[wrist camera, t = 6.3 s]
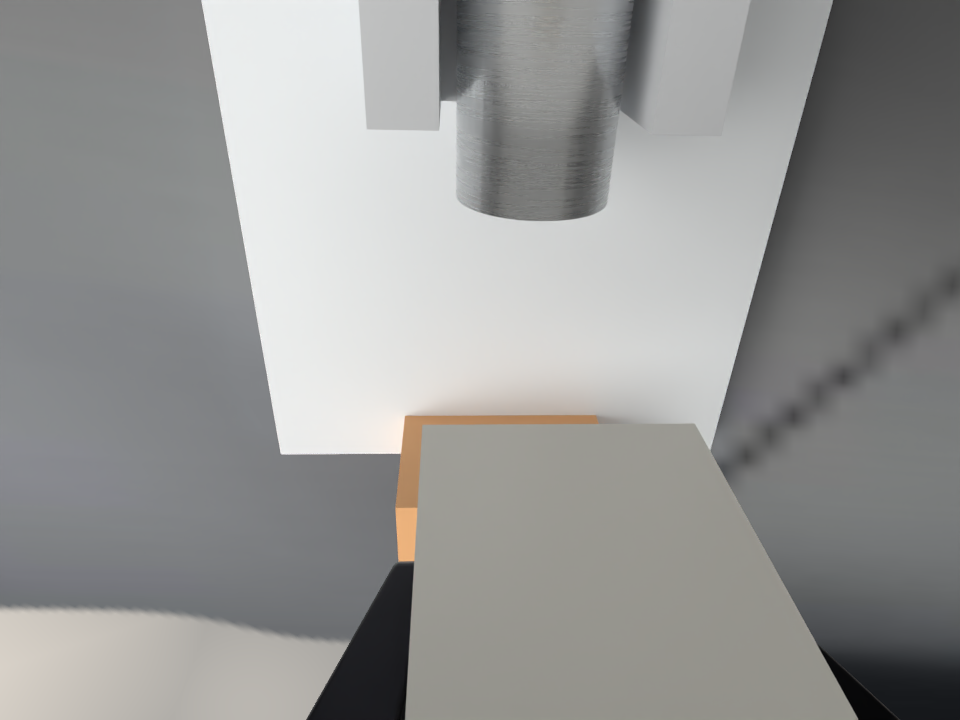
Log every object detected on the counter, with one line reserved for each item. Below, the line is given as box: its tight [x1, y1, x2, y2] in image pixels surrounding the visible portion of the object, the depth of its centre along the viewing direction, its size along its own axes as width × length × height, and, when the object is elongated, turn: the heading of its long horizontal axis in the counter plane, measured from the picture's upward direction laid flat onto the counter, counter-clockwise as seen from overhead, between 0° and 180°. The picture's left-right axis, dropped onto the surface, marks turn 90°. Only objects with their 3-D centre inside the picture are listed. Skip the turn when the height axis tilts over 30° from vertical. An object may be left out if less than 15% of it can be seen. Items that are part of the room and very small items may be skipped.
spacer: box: [405, 423, 858, 720], centre depth 8 cm, size 4×4×5 cm
